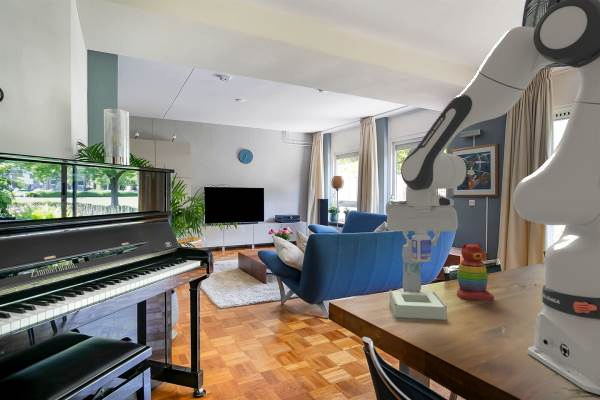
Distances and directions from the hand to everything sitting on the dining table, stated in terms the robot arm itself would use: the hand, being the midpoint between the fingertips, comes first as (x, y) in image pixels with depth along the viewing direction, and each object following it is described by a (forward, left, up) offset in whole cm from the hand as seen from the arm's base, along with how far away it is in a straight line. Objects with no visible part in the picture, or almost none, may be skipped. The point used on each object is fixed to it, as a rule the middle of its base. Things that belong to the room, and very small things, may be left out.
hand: (421, 245), depth 100 cm
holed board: (-1, +2, -19) cm, 19 cm away
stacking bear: (+17, -20, -20) cm, 33 cm away
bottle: (+18, 0, -20) cm, 27 cm away
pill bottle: (0, 0, -5) cm, 5 cm away
